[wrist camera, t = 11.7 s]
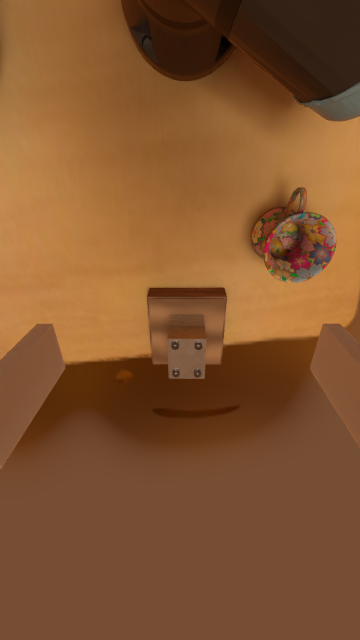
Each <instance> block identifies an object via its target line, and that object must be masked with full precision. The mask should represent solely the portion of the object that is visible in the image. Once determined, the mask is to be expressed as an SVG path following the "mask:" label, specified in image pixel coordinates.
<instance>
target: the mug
mask: <svg viewBox="0 0 360 640" xmlns="http://www.w3.org/2000/svg"><path fill="white" fill-rule="evenodd" d="M299 192H300V205H299V209H298V211H297V213H296V212H295V211H293V210H291V208H292V206H293V203H294V201H295V199H296V197H297V195H298V194H299ZM306 199H307V193H306V189H305V188H303V187H300V188H297V189H296V190H295V191H294V192H293V194H292V196H291V198H290V200H289V202H288V205H287V207H286V208H277V209H274V210H271V211H269V212H267V213H266V214H264V215H263V216H262V217H261V218H260V219H259V220H258V222H257V223H256V225H255V227H254V229H253V233H252V245H253V248H254V250H255V252H256V253H257V254H258V255H259V256H260V257H261V258H263V259H264V262H265V265H266V267H267V269H268V271H269V272H270V273H271V275H272V276H274V277H275V278H276V279H278V280H280V281H283V282H288V283H298V282H303V281H306V280H308V279H311V278H312V277H314V276H316V275H317V274H319V273H320V272H321V271H322V270H323V269H324V268H325V267H326V266H327V265H328V263H329V262H330V260H331V258H332V256H333V254H334V251H335V248H336V233H335V230H334V228H333V226H332V224H331V223H330V222H329V221H328V220H327V219H326V218H325V217H323V216H321V215H319V214H316V213H310V212H305V213H303V211H304V209H305V205H306Z"/></svg>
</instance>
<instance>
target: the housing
mask: <svg viewBox="0 0 360 640" xmlns="http://www.w3.org/2000/svg"><path fill="white" fill-rule="evenodd" d="M167 343H168V365H169V378H183V379H184V378H185V379H186V378H187V379H189V378H190V379H204V378H205V359H206V331H205V323H204V314H170V321H169V329H168V337H167Z"/></svg>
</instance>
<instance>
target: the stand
mask: <svg viewBox="0 0 360 640" xmlns="http://www.w3.org/2000/svg"><path fill="white" fill-rule="evenodd" d="M226 302H227V296H226V292H225V289H224V288H150V289H149V292H148V295H147V304H148V316H149V328H150V340H151V352H152V363H153V364H168V343H167V337H168V329H169V321H170V314H204V323H205V331H206V359H205V364H212V365H213V364H216V365H218V364H219V365H221V362H222V350H223V338H224V326H225V314H226Z"/></svg>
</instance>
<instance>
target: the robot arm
mask: <svg viewBox="0 0 360 640" xmlns="http://www.w3.org/2000/svg"><path fill="white" fill-rule="evenodd" d="M121 3H122V8H123V12H124V16H125V19H126V22H127V25H128V27H129V30H130V33H131V35H132V38H133V40H134V42H135V44H136V46H137V48H138V49H139V51H140V53H141V54H142V55H143V57H144V58H145V59H146V61H147V62H148V63H149V64H150V65H151V66H152V67H153V68H154V69H156V70H157V71H158V72H160V73H161V74H163V75H165V76H167V77H169V78H172V79H175V80H181V81H190V80H196V79H200V78H202V77H205V76H207V75H208V74H210V73H212V72H213V71H215V70H216V69H217V68H218V67H220V66H221V65H222V64H223V63H224V61H225V60H226V59H227V58H228V57H229V55H230V54H231V53H232V51H233V50H234V48H235V46H236V47H237V48H238V49H239V50H241V51H242V52H243V53H244V54H245V55H247V56H248V57H249V58H250V59H251V60H253V61H254V62H255V63H256V64H257V65H259V66H260V67H261V68H262V69H263V70H265V71H266V72H267V73H268V74H269V75H271V76H272V77H273V78H274V79H275V80H277V81H278V82H279V83H280V84H281V85H283V86H284V87H285V88H286V89H287V90H289V91H290V92H291V93H292V94H293V95H294V98H295V100H296V101H297V102H298V103H299V104H300V105H304V106H305V107H309V108H311V109H312V110H313V111H315V112H316V113H318V114H319V115H320V116H322V117H323V118H325V119H327V120H331V121H335V122H336V121H346V120H350V119H353V118H356V117H359V116H360V0H121ZM64 369H65V364H64V361H63V357H62V354H61V351H60V347H59V344H58V341H57V337H56V334H55V331H54V327H53V324H37V325H36V326H35V327H34V328H33V329H32V330H31V331H30V332H29V333H28V334H27V335H25V336H24V337H23V338H22V339H21V340H20V341H19V342H18V343H17V344H16V345H15V346H14V347H13V348H12V349H11V350H10V351H9V352H8V353H7V354H6V355H5V356H4V357H3V358H2V359H1V360H0V470H1V468H2V466H3V465H4V463H5V462H6V460H7V459H8V457H9V456H10V454H11V452H12V451H13V449H14V447H15V446H16V444H17V443H18V441H19V440H20V438H21V437H22V435H23V433H24V432H25V430H26V429H27V427H28V425H29V424H30V423H31V421H32V419H33V418H34V416H35V415H36V413H37V412H38V410H39V408H40V407H41V405H42V404H43V402H44V400H45V399H46V398H47V396H48V394H49V393H50V391H51V390H52V388H53V387H54V385H55V383H56V382H57V380H58V379H59V377H60V376H61V374H62V372H63V371H64ZM310 370H311V372H312V373H313V375H314V376H315V378H316V380H317V381H318V383H319V384H320V386H321V388H322V389H323V391H324V392H325V394H326V395H327V397H328V398H329V400H330V402H331V403H332V405H333V407H334V408H335V410H336V411H337V413H338V414H339V416H340V418H341V419H342V421H343V422H344V424H345V425H346V427H347V429H348V430H349V432H350V433H351V435H352V437H353V438H354V440H355V441H356V443H357V445H358V446H359V448H360V343H358V342H357V341H356V340H355V339H354V338H353V337H352V336H351V335H350V334H349V333H348V332H347V331H346V330H345V329H344V328H343V327H342V326H341V325H340V324H323V326H322V329H321V333H320V336H319V340H318V343H317V346H316V350H315V353H314V356H313V360H312V363H311V366H310Z"/></svg>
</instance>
